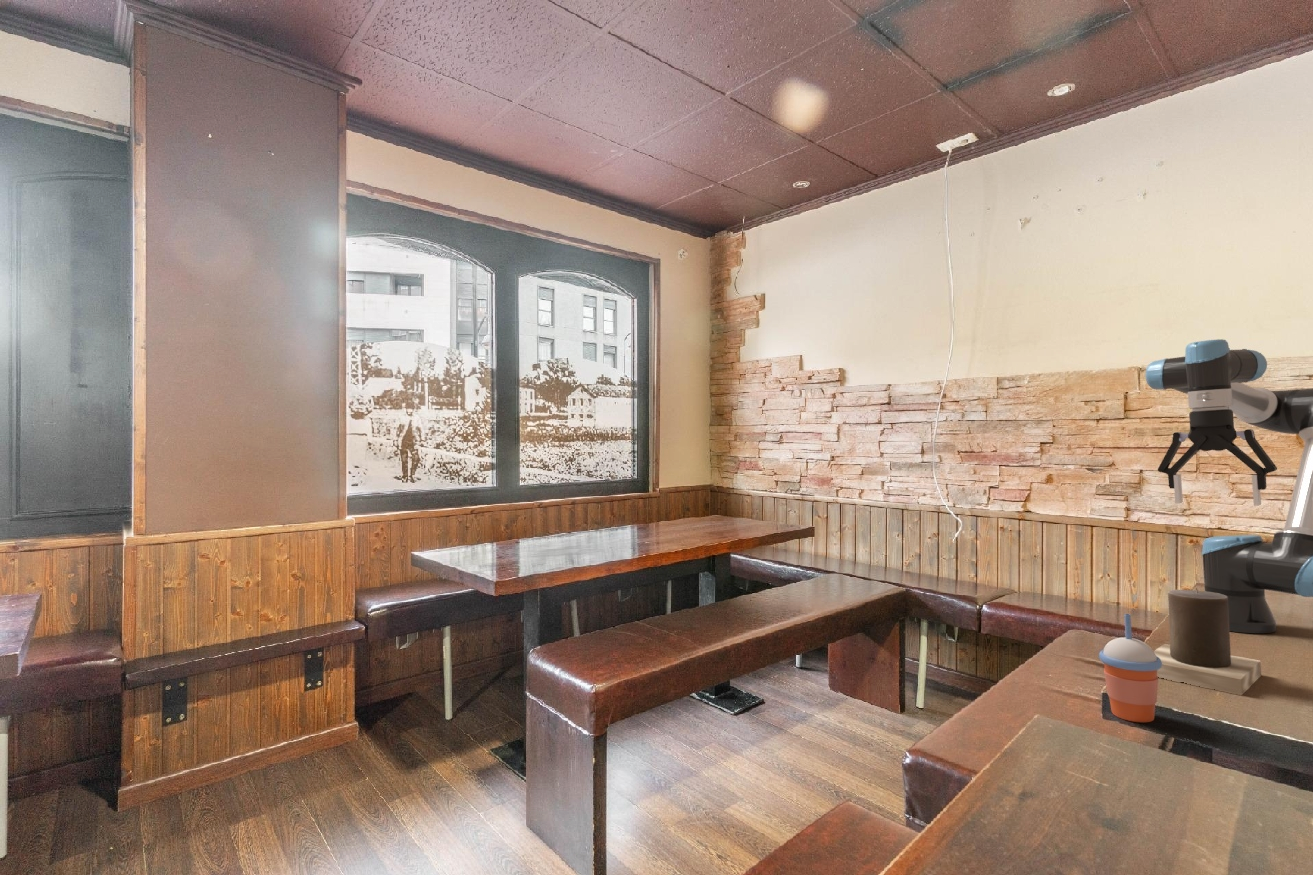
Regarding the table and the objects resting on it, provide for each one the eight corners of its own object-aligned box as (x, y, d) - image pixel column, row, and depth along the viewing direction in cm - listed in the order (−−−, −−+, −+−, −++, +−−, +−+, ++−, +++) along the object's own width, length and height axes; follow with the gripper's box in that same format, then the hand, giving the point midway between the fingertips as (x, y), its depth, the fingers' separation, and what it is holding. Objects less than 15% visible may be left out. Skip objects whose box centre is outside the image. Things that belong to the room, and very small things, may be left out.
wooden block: (1165, 657, 146) (1164, 643, 146) (1261, 675, 133) (1260, 660, 133) (1140, 674, 136) (1140, 659, 136) (1241, 695, 123) (1240, 679, 123)
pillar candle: (1214, 671, 128) (1211, 594, 128) (1159, 657, 137) (1156, 585, 137) (1241, 663, 132) (1239, 589, 132) (1186, 650, 141) (1184, 581, 141)
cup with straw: (1167, 713, 116) (1162, 612, 117) (1161, 731, 110) (1156, 623, 110) (1106, 701, 123) (1101, 605, 123) (1097, 717, 116) (1092, 616, 116)
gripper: (1138, 413, 154) (1144, 503, 154) (1283, 404, 134) (1290, 507, 134) (1148, 413, 158) (1154, 500, 158) (1290, 404, 139) (1297, 504, 138)
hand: (1216, 504), depth 146 cm, fingers open, 13 cm apart
